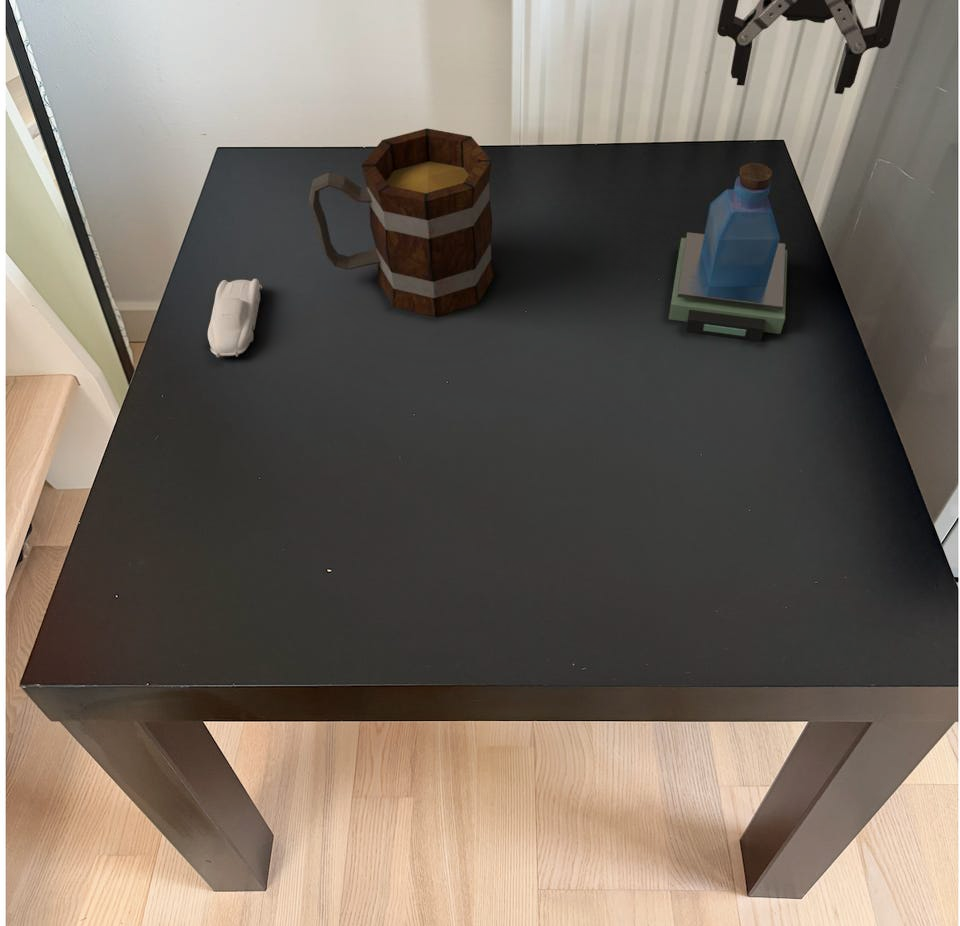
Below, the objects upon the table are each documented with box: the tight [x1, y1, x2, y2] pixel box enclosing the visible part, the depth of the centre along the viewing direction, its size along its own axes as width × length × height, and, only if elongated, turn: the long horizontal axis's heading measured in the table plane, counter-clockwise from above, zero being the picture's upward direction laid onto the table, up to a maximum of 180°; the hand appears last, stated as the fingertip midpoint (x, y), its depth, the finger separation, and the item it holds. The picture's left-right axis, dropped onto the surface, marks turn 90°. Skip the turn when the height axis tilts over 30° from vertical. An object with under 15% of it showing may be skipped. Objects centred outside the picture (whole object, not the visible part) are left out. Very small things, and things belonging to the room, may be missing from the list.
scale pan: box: [677, 231, 786, 311], centre depth 100 cm, size 11×11×1 cm
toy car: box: [207, 278, 263, 358], centre depth 100 cm, size 5×12×4 cm, turn 2°
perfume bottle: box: [701, 162, 781, 287], centre depth 95 cm, size 6×6×12 cm
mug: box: [308, 127, 495, 318], centre depth 100 cm, size 20×14×15 cm
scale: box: [668, 237, 788, 342], centre depth 101 cm, size 12×14×2 cm
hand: (789, 85), depth 82 cm, fingers open, 8 cm apart
